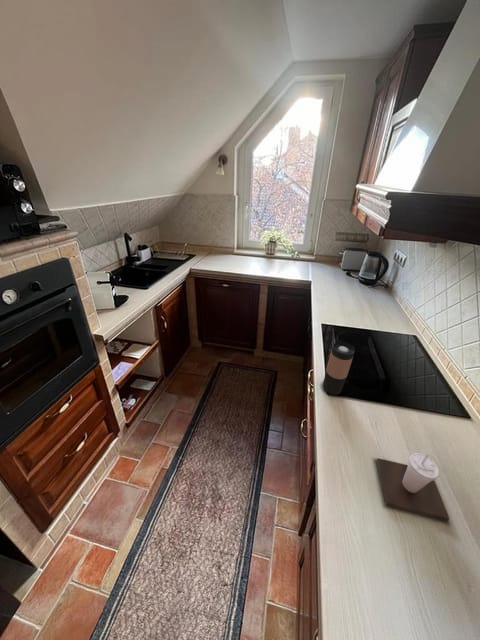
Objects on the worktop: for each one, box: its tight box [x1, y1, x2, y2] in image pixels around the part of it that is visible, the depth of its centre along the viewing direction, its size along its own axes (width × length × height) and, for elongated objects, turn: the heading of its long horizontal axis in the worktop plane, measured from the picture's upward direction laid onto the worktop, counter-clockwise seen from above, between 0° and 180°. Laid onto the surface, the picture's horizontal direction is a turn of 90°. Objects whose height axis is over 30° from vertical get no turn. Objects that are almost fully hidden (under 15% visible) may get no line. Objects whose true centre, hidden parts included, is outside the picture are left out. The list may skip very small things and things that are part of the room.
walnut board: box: [375, 457, 450, 522], centre depth 69 cm, size 14×12×2 cm
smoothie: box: [402, 452, 440, 493], centre depth 65 cm, size 6×6×14 cm
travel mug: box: [322, 341, 355, 396], centre depth 95 cm, size 8×8×20 cm
